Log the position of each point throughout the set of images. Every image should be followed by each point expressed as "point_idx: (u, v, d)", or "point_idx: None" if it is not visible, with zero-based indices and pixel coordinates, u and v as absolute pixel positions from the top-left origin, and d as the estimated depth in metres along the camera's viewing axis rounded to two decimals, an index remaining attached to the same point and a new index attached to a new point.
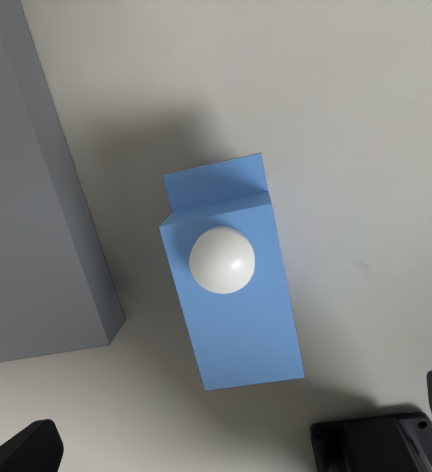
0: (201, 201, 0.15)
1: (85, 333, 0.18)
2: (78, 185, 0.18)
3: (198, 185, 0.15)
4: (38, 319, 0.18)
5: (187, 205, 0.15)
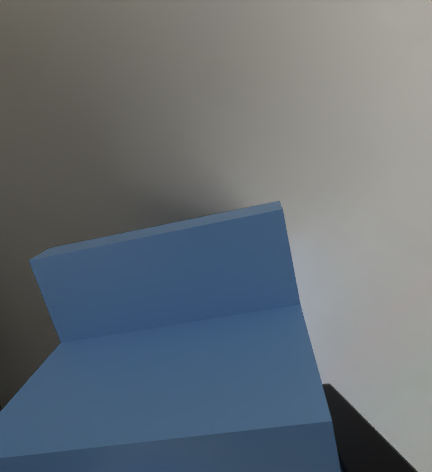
0: (130, 321, 0.06)
1: None
2: None
3: (120, 285, 0.06)
4: None
5: (97, 330, 0.06)
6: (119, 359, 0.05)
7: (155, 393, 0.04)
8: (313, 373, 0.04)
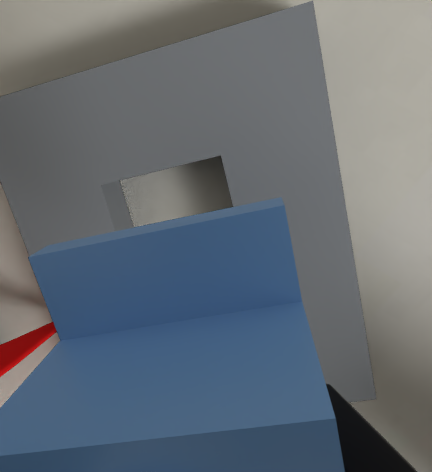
0: (130, 319, 0.06)
1: (354, 388, 0.19)
2: None
3: (120, 282, 0.06)
4: None
5: (96, 328, 0.06)
6: (119, 356, 0.05)
7: (156, 390, 0.04)
8: (316, 370, 0.04)
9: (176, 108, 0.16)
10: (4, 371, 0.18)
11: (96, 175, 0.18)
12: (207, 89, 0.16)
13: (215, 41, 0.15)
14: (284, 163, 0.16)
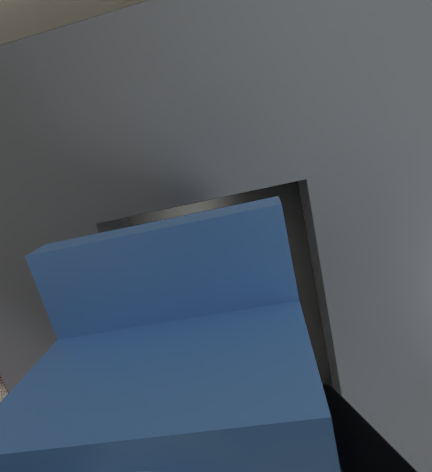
0: (127, 318, 0.06)
1: None
2: None
3: (117, 281, 0.06)
4: None
5: (94, 327, 0.06)
6: (116, 356, 0.05)
7: (152, 389, 0.04)
8: (312, 369, 0.04)
9: (232, 95, 0.09)
10: None
11: (89, 207, 0.10)
12: (291, 62, 0.09)
13: None
14: (418, 195, 0.09)
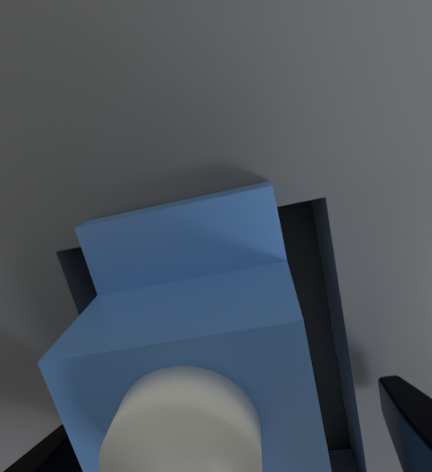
0: (153, 277, 0.08)
1: None
2: None
3: (146, 247, 0.07)
4: None
5: (127, 284, 0.08)
6: (148, 301, 0.07)
7: (179, 317, 0.06)
8: (293, 298, 0.06)
9: (228, 87, 0.07)
10: None
11: (46, 231, 0.08)
12: (307, 42, 0.07)
13: None
14: None
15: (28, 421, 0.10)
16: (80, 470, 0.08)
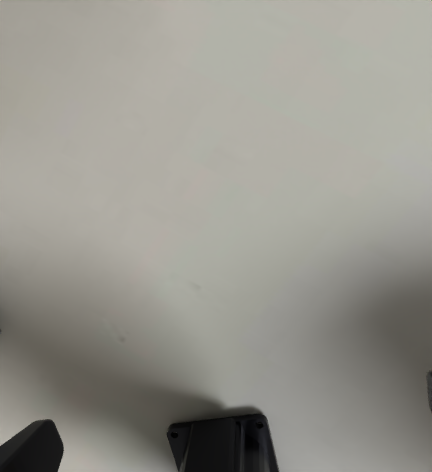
0: None
1: None
2: None
3: None
4: None
5: None
6: None
7: None
8: None
9: None
10: None
11: None
12: None
13: None
14: None
15: None
16: None
